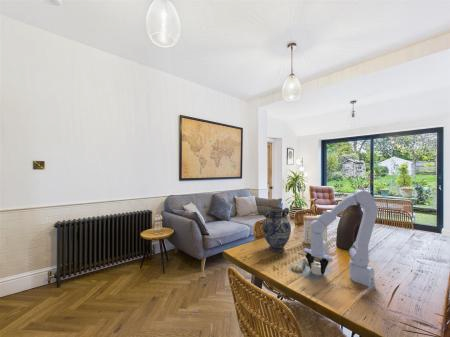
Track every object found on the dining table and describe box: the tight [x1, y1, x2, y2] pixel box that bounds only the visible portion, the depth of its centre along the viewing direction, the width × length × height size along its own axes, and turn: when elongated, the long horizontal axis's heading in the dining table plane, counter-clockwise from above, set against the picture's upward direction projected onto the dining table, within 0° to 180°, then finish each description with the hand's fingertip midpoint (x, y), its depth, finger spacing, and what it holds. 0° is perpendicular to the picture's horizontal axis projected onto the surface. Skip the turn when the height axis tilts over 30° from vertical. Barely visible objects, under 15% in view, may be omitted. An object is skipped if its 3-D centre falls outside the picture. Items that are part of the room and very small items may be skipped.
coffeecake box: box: [303, 215, 328, 245], centre depth 151 cm, size 15×7×20 cm, turn 80°
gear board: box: [286, 257, 334, 282], centre depth 107 cm, size 16×18×6 cm
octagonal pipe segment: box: [311, 261, 322, 275], centre depth 104 cm, size 5×5×4 cm
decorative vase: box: [262, 206, 292, 253], centre depth 139 cm, size 21×19×28 cm
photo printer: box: [314, 240, 329, 260], centre depth 123 cm, size 10×4×12 cm, turn 25°
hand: (317, 271), depth 104 cm, fingers closed on octagonal pipe segment, 5 cm apart
